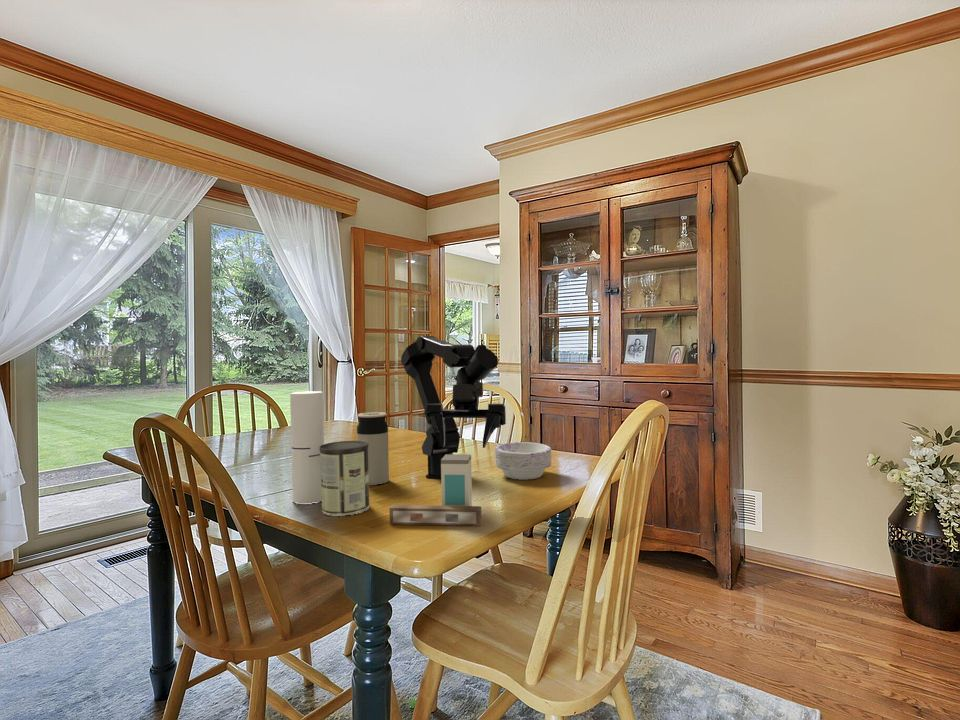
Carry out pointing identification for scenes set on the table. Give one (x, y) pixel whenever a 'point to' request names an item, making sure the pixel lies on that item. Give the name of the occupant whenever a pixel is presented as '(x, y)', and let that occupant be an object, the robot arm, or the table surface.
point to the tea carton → (456, 480)
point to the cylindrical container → (306, 445)
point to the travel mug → (375, 445)
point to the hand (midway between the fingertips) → (463, 446)
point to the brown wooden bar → (435, 515)
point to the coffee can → (344, 477)
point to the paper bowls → (523, 459)
